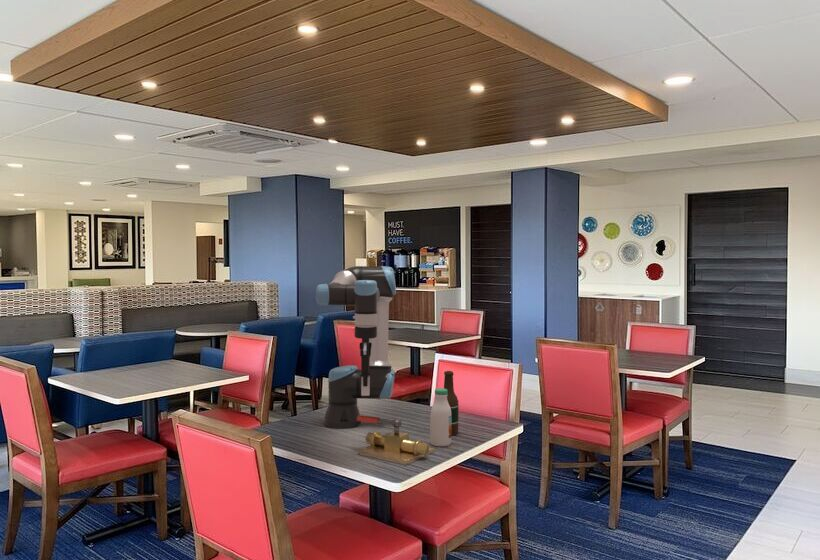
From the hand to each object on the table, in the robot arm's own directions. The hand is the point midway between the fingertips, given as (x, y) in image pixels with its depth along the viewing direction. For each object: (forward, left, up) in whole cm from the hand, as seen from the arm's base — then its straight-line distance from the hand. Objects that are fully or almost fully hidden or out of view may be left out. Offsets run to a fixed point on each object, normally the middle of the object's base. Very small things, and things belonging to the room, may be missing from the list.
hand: (365, 395), depth 212 cm
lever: (0, +8, -11) cm, 14 cm away
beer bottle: (+9, +41, -21) cm, 47 cm away
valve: (+7, +9, -21) cm, 24 cm away
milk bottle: (+14, +27, -21) cm, 37 cm away
